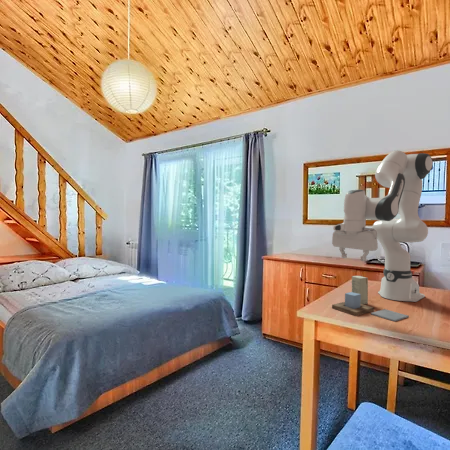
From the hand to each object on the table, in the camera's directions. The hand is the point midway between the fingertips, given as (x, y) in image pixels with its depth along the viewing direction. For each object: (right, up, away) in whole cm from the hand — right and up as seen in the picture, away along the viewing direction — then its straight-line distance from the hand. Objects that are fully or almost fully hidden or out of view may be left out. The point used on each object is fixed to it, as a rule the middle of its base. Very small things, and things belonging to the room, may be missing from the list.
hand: (353, 259), depth 134 cm
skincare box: (+8, -22, +11) cm, 26 cm away
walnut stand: (0, -22, +1) cm, 22 cm away
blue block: (0, -22, +1) cm, 22 cm away
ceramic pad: (+12, -23, -7) cm, 26 cm away
